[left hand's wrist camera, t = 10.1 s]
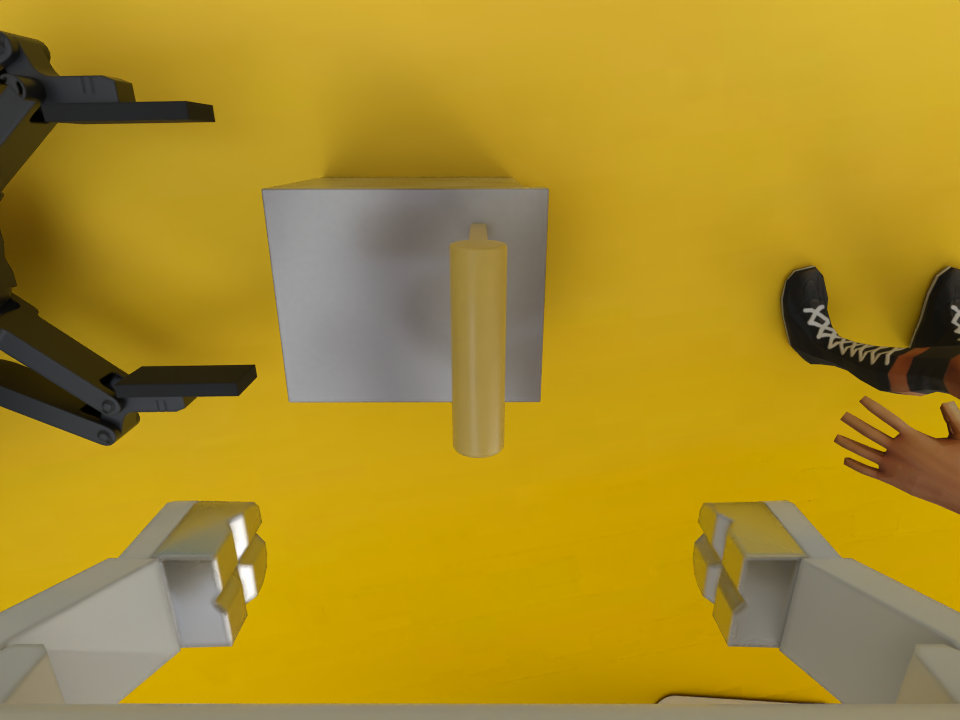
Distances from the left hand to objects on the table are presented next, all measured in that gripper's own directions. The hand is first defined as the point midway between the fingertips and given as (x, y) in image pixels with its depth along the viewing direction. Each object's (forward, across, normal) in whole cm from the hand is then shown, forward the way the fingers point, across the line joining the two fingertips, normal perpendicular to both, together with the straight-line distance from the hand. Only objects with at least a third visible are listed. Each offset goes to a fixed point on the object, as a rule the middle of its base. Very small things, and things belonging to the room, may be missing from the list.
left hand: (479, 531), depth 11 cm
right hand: (+20, -13, +1) cm, 24 cm away
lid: (+18, -3, 0) cm, 18 cm away
